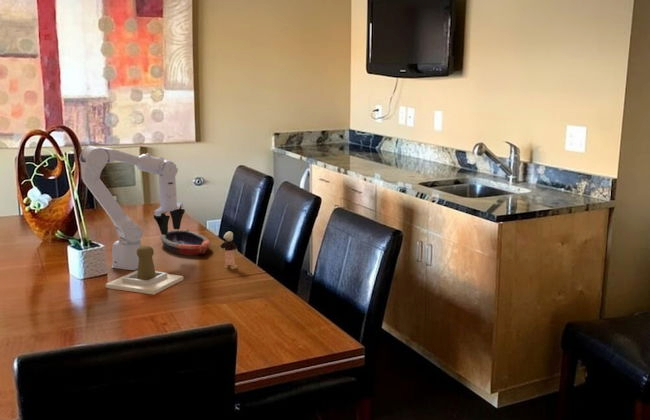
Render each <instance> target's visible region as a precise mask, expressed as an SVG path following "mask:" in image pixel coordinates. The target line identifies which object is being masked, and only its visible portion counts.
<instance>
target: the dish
mask: <svg viewBox="0 0 650 420" xmlns="http://www.w3.org/2000/svg"><path fill="white" fill-rule="evenodd" d="M160 241H161V242H162V244H163V246H164V247H165V248H166V249H168V250H169V251H171V252H173V253H176V254H180V255H189V256H194V255H195V256H196V255H197V256H198V255H203V254H206V253H207V251H208V248H209V246H210V245H211V242H210V240H209V239H208V238H207V237H206V236H204V235H202V234H200V233H197V232H194V231H191V230H190V229H186V230H180V229H179V230H177V229H173V230H168V234H167V235H164V234H161V235H160Z"/></svg>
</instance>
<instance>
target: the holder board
mask: <svg viewBox="0 0 650 420" xmlns="http://www.w3.org/2000/svg"><path fill="white" fill-rule="evenodd" d="M155 274H156V277H154V278H152V279H150V280H141V279H137V276H138V269H136V270H133V272H130V273H128V274H125V275H123V276H121V277H119V278H116V279H114V280H112V281H109V282H106V283H105V288H107V289H112V290H113V289H114V290H120V291H127V292H133V293H134V292H135V293H142V294H147V295H156V294H158V293H160V292H162V291H164V290H166V289H167V288H168V289H169V288H170V287H171V286H173V285H175V284H178V283H180V282H182V281H183V280H184V276H183V275H177V274H169V273H167V272H163V271H157V270H155Z"/></svg>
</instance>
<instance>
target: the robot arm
mask: <svg viewBox="0 0 650 420" xmlns="http://www.w3.org/2000/svg"><path fill="white" fill-rule="evenodd" d="M78 160H79V163H80V173H81V180H82V183H83V184H84V185H85V186H86V187H87V189H88V190H89V191H90V193H91V194H92V195H93V198H95V200H96V201H97V202H98V203H99V205H100V206H101V207H102V209H103V210H104V211H105V213H106V214H107V215H108V217H109V219H110V220H111V221H112V224H113V226H114V227H115V230H116V231H115V232H116V234H117V236H118V237H119V240H116V241H114V243H113V244H112V247H111V255H112V258H111V259H112V266H111V268H113V269H119V270H120V269H121V270H130V271H137V270H138V263H139V257H138V256H137V249H138V248H139V247H142V241H141V240H142V238H143V234H144V233H143V229H142V228H141V226H139V225H137V224H135V223H134V221H133V220H132V219H131V218H130V217H129V216H128V215H127V214H126V213H125V211H124V209H123V208H122V206H120V204H119V203H118V202H117V200H116V199H115V197H114V196H113V194H112V193H111V192H110V191H109V189H108V187H107V186H106V185H105V184H104V183H103V181H102V180H101V174H102V171H103V169H104V168H105V167H106V165H107V163H109V164H111V163H113V162H120V163H126V164H129V165H134V166H136V168H137V169H138V170H139V171H142V172H146V173H149V174H152V175H153V174H154V175H158V185H159V198H160V206H159V207H158V208H157V209H154V214H153V219H154V220H155V221H156V224H157V225H158V228H159V231H160V233H161V235H162V234H164V235H167V234H168V231H169V220H170V217H171V220H172V221H171V222H172V228H173V230H180V228H181V223H182V219H183V216H184V214H185V212H186V210H185V208H184V203H183V202H179V201H178V196H177V184H176V183H177V181H176V177H177V174H178V171H179V168H177V165H176V163H174V162H173V161H172V160H171V161H170V160H168V159H164V157H161V156H160V157H155V156H152V154H151V153H148V152H146V153H142V154H141V155H135V154H131V153H127V152H124V151H120V150H118V149H115V148H110V147H103V146H98V147H97V146H94V145H87V146H84V147H83V149H82V150H81V152H80V154H79V158H78ZM168 213H169V214H170V215H167V214H168Z"/></svg>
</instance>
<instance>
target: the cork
mask: <svg viewBox="0 0 650 420" xmlns="http://www.w3.org/2000/svg"><path fill="white" fill-rule="evenodd" d="M154 253H155V252H154V248H153V247H152V246H150V245H143V246H142V245H141V247H139V248H138V249H137V256H138V257H139V263H138V269H137V270H138V276H137V279H141V280H150V279H152V278H154V277H156V274H155V271H156V270H155V264H154V259H153V256H154Z"/></svg>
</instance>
